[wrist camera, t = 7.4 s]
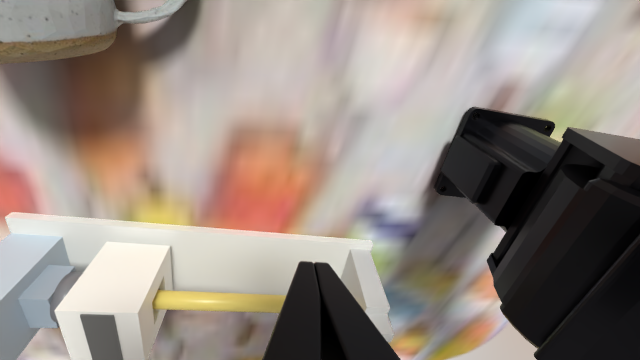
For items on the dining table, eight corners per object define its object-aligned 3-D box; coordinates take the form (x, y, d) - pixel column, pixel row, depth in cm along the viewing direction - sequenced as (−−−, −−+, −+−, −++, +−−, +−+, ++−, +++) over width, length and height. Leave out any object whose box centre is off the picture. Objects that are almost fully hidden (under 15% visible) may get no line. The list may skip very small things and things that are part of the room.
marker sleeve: (169, 245, 21) (136, 314, 16) (172, 294, 23) (144, 367, 19) (106, 241, 20) (52, 312, 16) (116, 292, 23) (72, 367, 18)
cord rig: (371, 240, 24) (403, 322, 18) (351, 298, 28) (371, 386, 21) (11, 211, 20) (-119, 309, 13) (38, 286, 23) (-56, 393, 17)
